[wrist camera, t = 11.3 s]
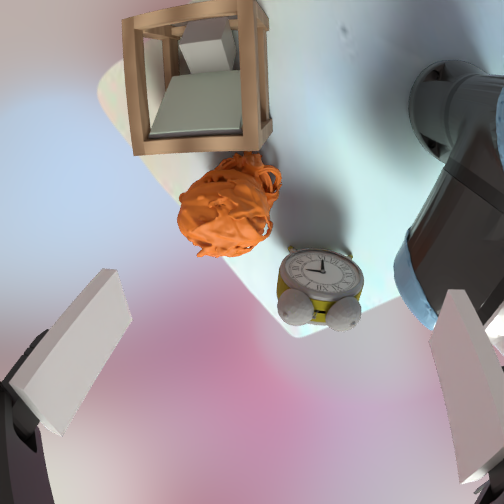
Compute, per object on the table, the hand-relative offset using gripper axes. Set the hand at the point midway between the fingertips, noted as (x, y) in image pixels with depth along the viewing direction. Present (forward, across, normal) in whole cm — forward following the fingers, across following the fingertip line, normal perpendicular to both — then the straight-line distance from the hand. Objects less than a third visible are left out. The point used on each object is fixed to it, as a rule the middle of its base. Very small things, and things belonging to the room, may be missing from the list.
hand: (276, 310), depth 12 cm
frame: (+35, +11, -9) cm, 37 cm away
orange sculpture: (+35, +8, +6) cm, 36 cm away
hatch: (+27, +11, -6) cm, 30 cm away
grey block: (+33, +11, -11) cm, 36 cm away
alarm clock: (+35, -3, +19) cm, 40 cm away
